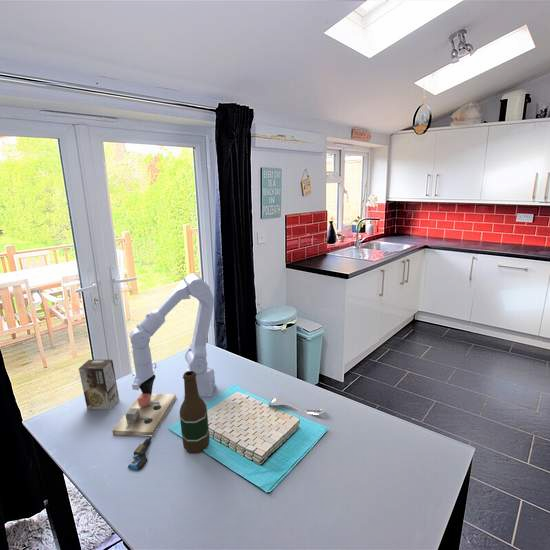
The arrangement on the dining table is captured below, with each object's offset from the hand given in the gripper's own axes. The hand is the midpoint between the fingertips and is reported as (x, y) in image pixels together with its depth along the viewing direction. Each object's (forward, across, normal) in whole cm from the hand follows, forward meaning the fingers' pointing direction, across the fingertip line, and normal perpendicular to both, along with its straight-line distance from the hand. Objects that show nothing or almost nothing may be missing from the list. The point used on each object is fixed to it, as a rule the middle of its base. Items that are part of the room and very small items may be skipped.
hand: (147, 396), depth 127 cm
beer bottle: (+3, +19, +24) cm, 30 cm away
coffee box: (+3, +1, -16) cm, 17 cm away
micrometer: (+4, +24, +9) cm, 26 cm away
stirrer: (+4, 0, +52) cm, 52 cm away
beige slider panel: (+3, +6, +2) cm, 7 cm away
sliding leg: (+1, +3, +2) cm, 3 cm away
